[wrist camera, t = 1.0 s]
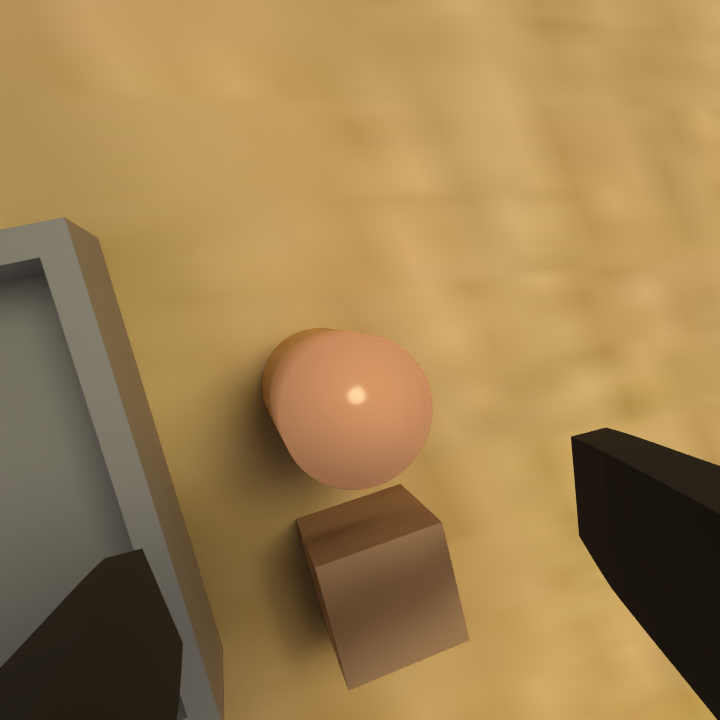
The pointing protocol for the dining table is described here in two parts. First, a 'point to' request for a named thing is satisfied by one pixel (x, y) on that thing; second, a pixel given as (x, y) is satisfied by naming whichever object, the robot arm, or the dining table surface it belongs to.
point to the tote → (84, 453)
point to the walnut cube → (383, 583)
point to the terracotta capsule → (347, 406)
